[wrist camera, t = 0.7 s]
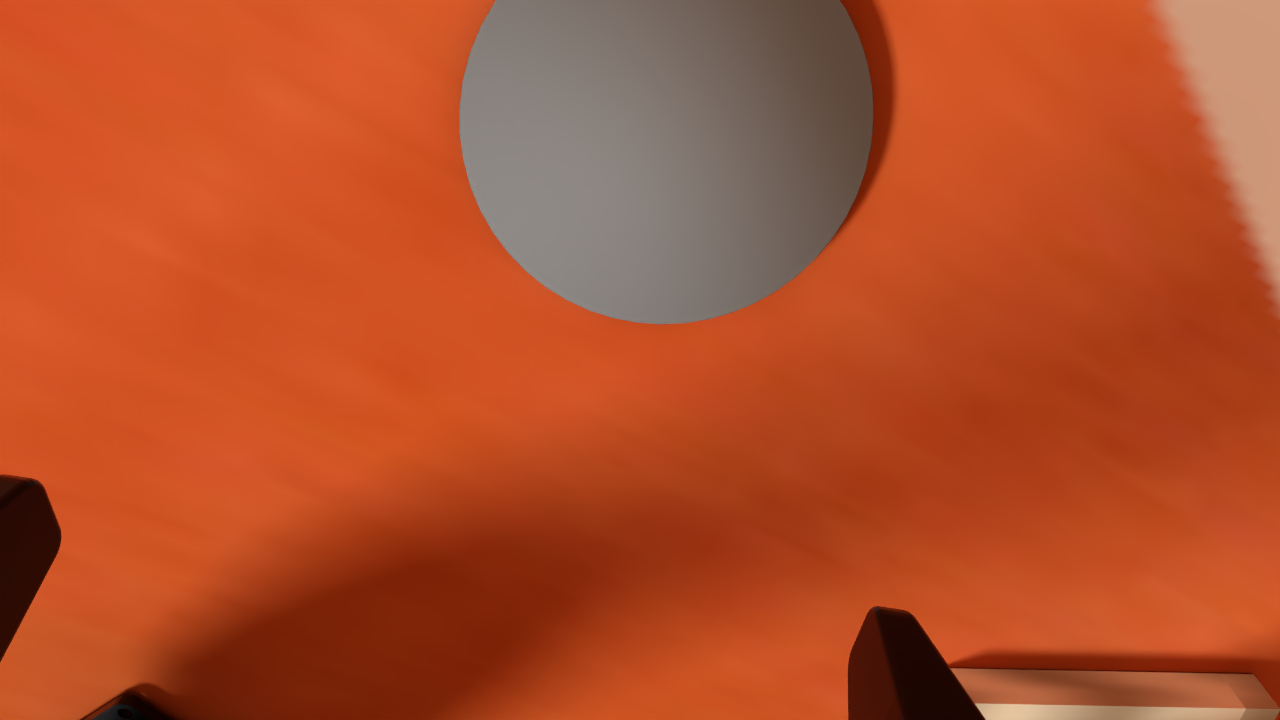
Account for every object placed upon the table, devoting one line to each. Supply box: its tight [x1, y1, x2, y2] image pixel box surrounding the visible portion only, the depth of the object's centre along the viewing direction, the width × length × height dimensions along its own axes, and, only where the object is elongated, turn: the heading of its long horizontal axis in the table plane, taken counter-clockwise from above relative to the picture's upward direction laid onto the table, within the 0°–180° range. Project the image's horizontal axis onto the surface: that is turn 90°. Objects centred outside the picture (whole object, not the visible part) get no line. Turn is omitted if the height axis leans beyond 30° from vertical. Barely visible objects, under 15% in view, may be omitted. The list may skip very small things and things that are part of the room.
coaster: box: [460, 0, 874, 324], centre depth 22 cm, size 10×10×1 cm
